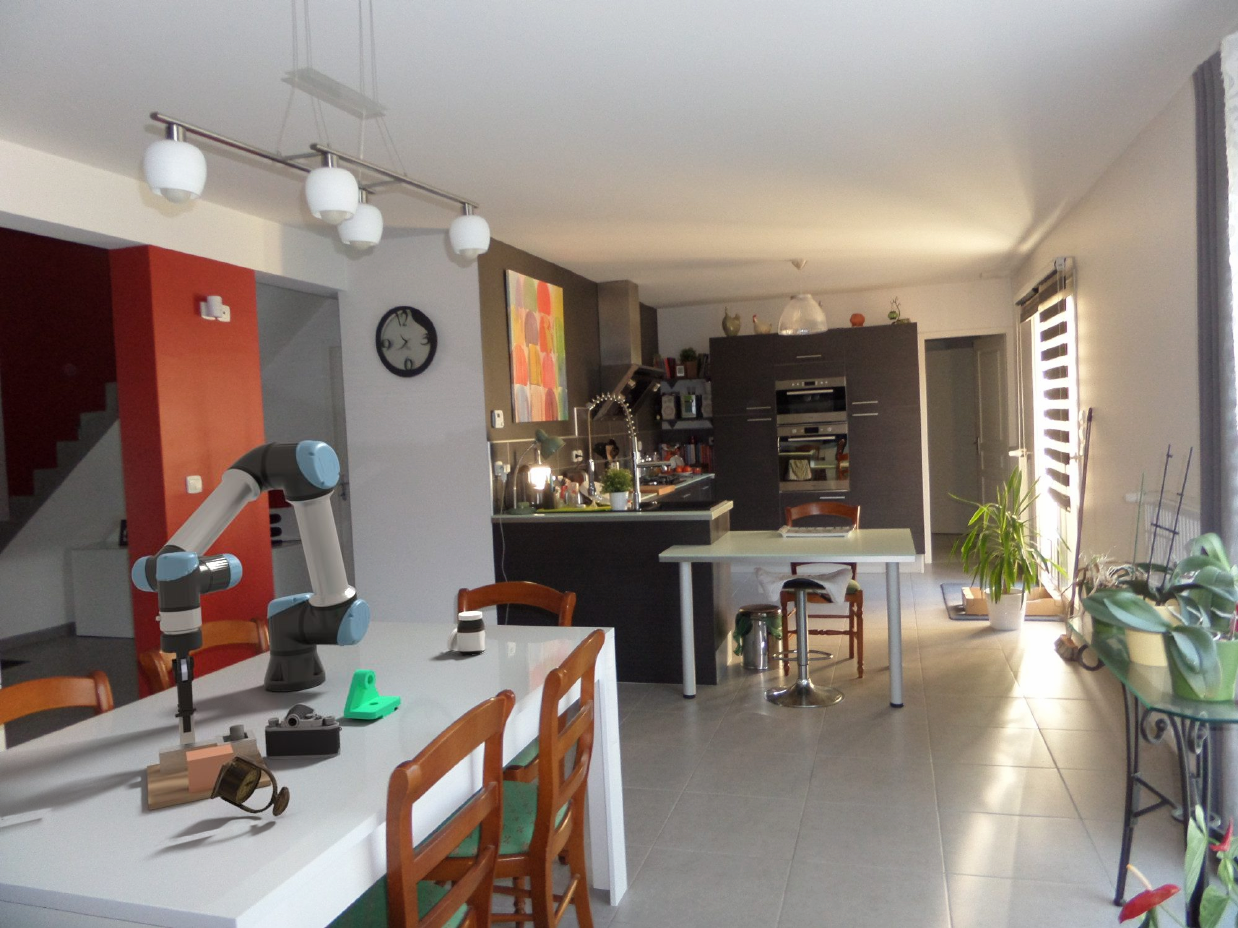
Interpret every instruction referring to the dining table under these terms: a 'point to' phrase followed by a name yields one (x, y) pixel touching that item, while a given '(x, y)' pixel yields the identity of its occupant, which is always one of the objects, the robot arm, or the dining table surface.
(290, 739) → the camera
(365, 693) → the camera mount
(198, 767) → the block
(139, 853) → the dining table surface
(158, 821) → the dining table surface
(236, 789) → the brass desk clock
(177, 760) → the link
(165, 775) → the board
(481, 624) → the spread jar
